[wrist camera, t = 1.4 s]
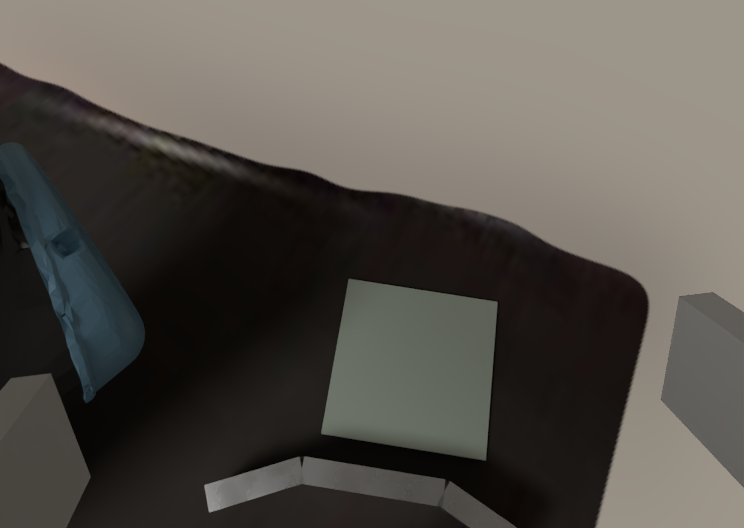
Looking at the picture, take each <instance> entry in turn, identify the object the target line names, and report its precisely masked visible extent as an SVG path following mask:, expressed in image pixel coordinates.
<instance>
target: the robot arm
mask: <svg viewBox="0 0 744 528" xmlns="http://www.w3.org/2000/svg"><path fill="white" fill-rule="evenodd" d="M144 341H145V328H144V324H143V321H142V319H141V317H140V315H139V313H138V312H137V310H136V308H135V306H134V305H133V303H132V301H131V300H130V298H129V296H128V295H127V293H126V292H125V290H124V288H123V287H122V285H121V284H120V282H119V281H118V279H117V278H116V276H115V274H114V273H113V271H112V270H111V268H110V267H109V265H108V264H107V262H106V261H105V259H104V258H103V256H102V255H101V253H100V252H99V250H98V249H97V247H96V246H95V244H94V243H93V241H92V240H91V238H90V237H89V235H88V234H87V232H86V231H85V230H84V228H83V227H82V225H81V224H80V222H79V221H78V219H77V218H76V216H75V215H74V214H73V212H72V211H71V209H70V208H69V206H68V205H67V203H66V202H65V200H64V199H63V198H62V196H61V195H60V193H59V192H58V190H57V189H56V188H55V186H54V185H53V183H52V182H51V181H50V179H49V178H48V177H47V175H46V174H45V172H44V171H43V170H42V168H41V167H40V166H39V164H38V163H37V162H36V161H35V159H34V158H32V157H31V156H30V154H29V153H28V151H27V150H26V148H25V147H23V146H22V145H20V144H18V143H13V142H10V143H5V144H3V145H0V528H66V527H67V525H68V523H69V521H70V519H71V517H72V515H73V513H74V511H75V509H76V507H77V504H78V502H79V500H80V498H81V496H82V494H83V492H84V490H85V488H86V486H87V484H88V482H89V480H90V478H91V476H90V473H89V471H88V468H87V466H86V463H85V460H84V458H83V455H82V453H81V450H80V447H79V445H78V442H77V440H76V437H75V435H74V432H73V429H72V427H71V424H70V422H69V419H68V416H67V415H69V414H70V413H71V412H73V411H74V410H76V409H77V408H78V407H80V406H81V405H83V404H84V403H88V402H89V401H91V400H92V399H93V398H94V397H95V394H96V392H97V391H98V390H99V389H100V388H101V387H103V386H104V385H105V384H106V383H107V382H109V381H110V380H111V379H112V378H113V377H115V376H116V375H117V374H118V373H119V372H121V371H122V370H123V369H124V368H125V367H127V366H128V365H129V364H130V363H132V362H133V361H134V360H135V359H136V357H137V356H138V355H139V353H140V351H141V349H142V347H143V344H144ZM661 400H662V401H663V402H664V403H665V404H666V405H667V407H668V408H669V409H670V410H671V411H672V412H673V413H674V414H675V415H676V416H677V417H678V418H679V419H680V420H681V421H682V422H683V424H684V425H685V426H686V427H687V428H688V429H689V430H690V431H691V432H692V433H693V434H694V435H695V436H696V437H697V438H698V440H700V442H701V443H702V444H703V445H704V446H705V447H706V448H707V449H708V450H709V451H710V452H711V453H712V454H713V455H714V457H716V458H717V460H718V461H719V462H720V463H721V464H722V465H723V466H724V467H725V468H726V469H727V470H728V471H729V472H730V473H731V474H732V476H733V477H734V478H735V479H736V480H737V481H738V482H739V483H740V484H741V485H742V486H743V487H744V313H743V312H742V311H741V310H739V309H738V308H736V307H735V306H733V305H731V304H730V303H728V302H727V301H725V300H724V299H722V298H721V297H719V296H718V295H716V294H715V293H703V294H695V295H687V296H680V297H679V301H678V307H677V312H676V318H675V324H674V329H673V335H672V340H671V346H670V352H669V358H668V363H667V369H666V374H665V380H664V386H663V391H662V397H661Z"/></svg>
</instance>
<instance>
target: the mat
mask: <svg viewBox="0 0 744 528" xmlns="http://www.w3.org/2000/svg"><path fill="white" fill-rule="evenodd" d="M497 303H498V302H495V301H489V300H483V299H476V298H470V297H463V296H457V295H450V294H444V293H437V292H431V291H425V290H418V289H412V288H405V287H399V286H392V285H386V284H380V283H373V282H367V281H360V280H354V279H349V280H348V286H347V291H346V297H345V303H344V308H343V314H342V319H341V325H340V331H339V336H338V342H337V348H336V353H335V359H334V364H333V370H332V376H331V381H330V387H329V392H328V398H327V404H326V409H325V415H324V421H323V426H322V432H321V434H324V435H331V436H337V437H343V438H349V439H355V440H361V441H367V442H374V443H380V444H386V445H392V446H398V447H404V448H411V449H417V450H423V451H429V452H435V453H441V454H447V455H454V456H460V457H466V458H472V459H478V460H484V461H486V452H487V439H488V425H489V412H490V398H491V385H492V371H493V358H494V344H495V331H496V317H497Z"/></svg>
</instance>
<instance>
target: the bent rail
mask: <svg viewBox="0 0 744 528" xmlns="http://www.w3.org/2000/svg"><path fill="white" fill-rule="evenodd" d="M299 484H307V485H313V486H319V487H325V488H331V489H337V490H343V491H349V492H355V493H361V494H367V495H373V496H379V497H385V498H391V499H398V500H404V501H410V502H416V503H422V504H428V505H434V506H437V507H438V508H439V509H441V510H442V511H444V512H445V513H447V514H448V515H449V516H451V517H452V518H454V519H455V520H456V521H458V522H459V523H461V524H462V525H463V526H465V527H466V528H517V527H515V526H514V525H512V524H511V523H509V522H508V521H507V520H505V519H504V518H502V517H501V516H499V515H498V514H496V513H495V512H494V511H492V510H491V509H489V508H488V507H486V506H485V505H484V504H482V503H481V502H479V501H478V500H476V499H475V498H474V497H472V496H471V495H469V494H468V493H466V492H465V491H464V490H462V489H461V488H459V487H458V486H456V485H455V484H454V483H452V482H451V481H446V480H445V479H440V478H434V477H428V476H421V475H415V474H409V473H403V472H397V471H391V470H385V469H379V468H373V467H366V466H360V465H354V464H348V463H342V462H336V461H330V460H324V459H318V458H311V457H305V456H304V457H296V458H292V459H289V460H286V461H283V462H279V463H276V464H273V465H269V466H266V467H263V468H260V469H256V470H253V471H250V472H246V473H243V474H240V475H237V476H233V477H230V478H227V479H223V480H220V481H217V482H214V483H210V484H207V485H204V486H205V492H206V497H207V503H208V509H209V512H212V511H216V510H219V509H222V508H225V507H229V506H232V505H235V504H238V503H241V502H245V501H248V500H251V499H254V498H257V497H261V496H264V495H267V494H270V493H274V492H277V491H280V490H283V489H286V488H290V487H293V486H296V485H299Z"/></svg>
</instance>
